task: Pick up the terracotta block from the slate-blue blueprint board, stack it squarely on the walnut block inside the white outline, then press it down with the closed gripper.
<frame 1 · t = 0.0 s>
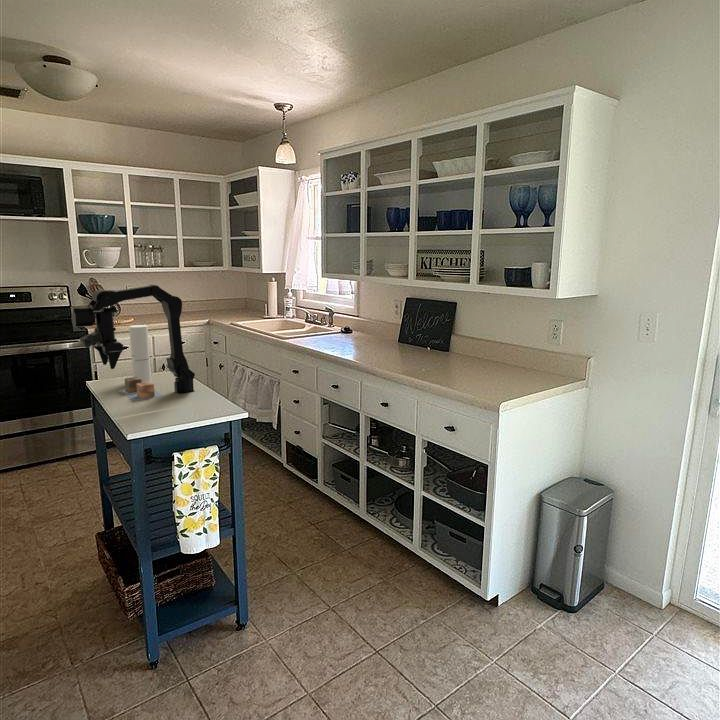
hand: (108, 366, 194), 15 cm above the counter, tool pointing down, fingers open, 9 cm apart
blueprint board: (141, 394, 211), on the counter
terracotta block: (145, 396, 207), point 1 cm above the counter, touching blueprint board
walnut block: (133, 390, 214), point 1 cm above the counter, touching blueprint board
cylindrical container: (142, 383, 229), on the counter
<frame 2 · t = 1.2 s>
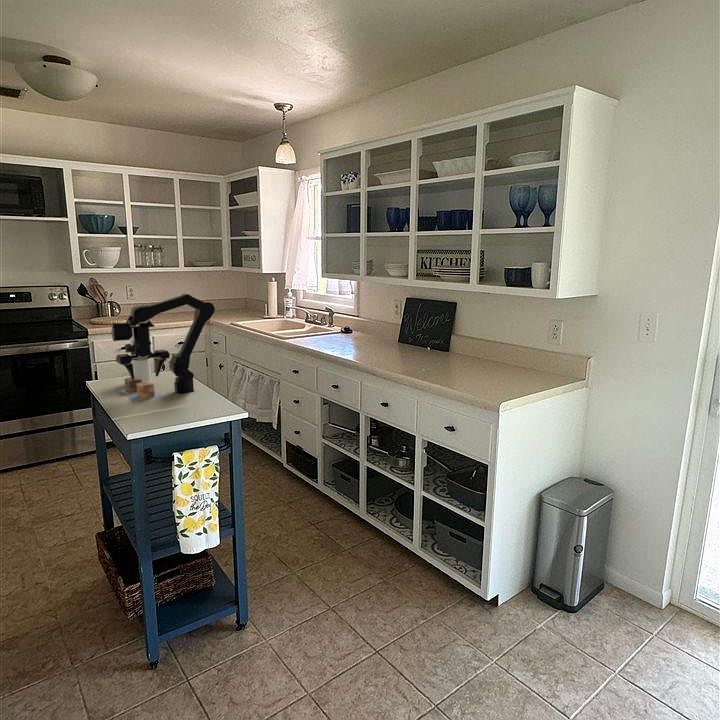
hand: (145, 378, 205), 8 cm above the counter, tool pointing down, fingers open, 9 cm apart
nothing on the counter moved.
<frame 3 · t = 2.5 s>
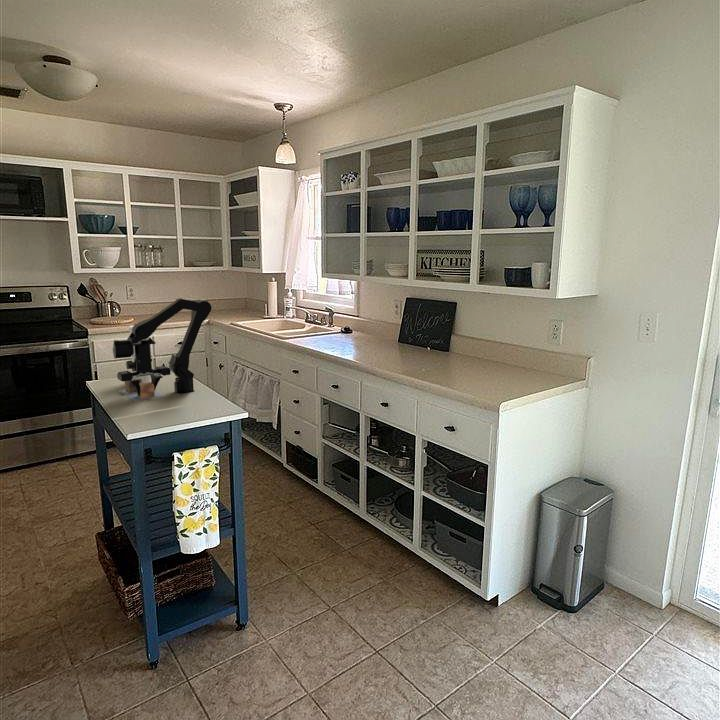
hand: (145, 394, 207), 1 cm above the counter, tool pointing down, fingers closed on terracotta block, 5 cm apart
terracotta block: (145, 396, 207), point 1 cm above the counter, touching blueprint board, gripper
everything else where it was.
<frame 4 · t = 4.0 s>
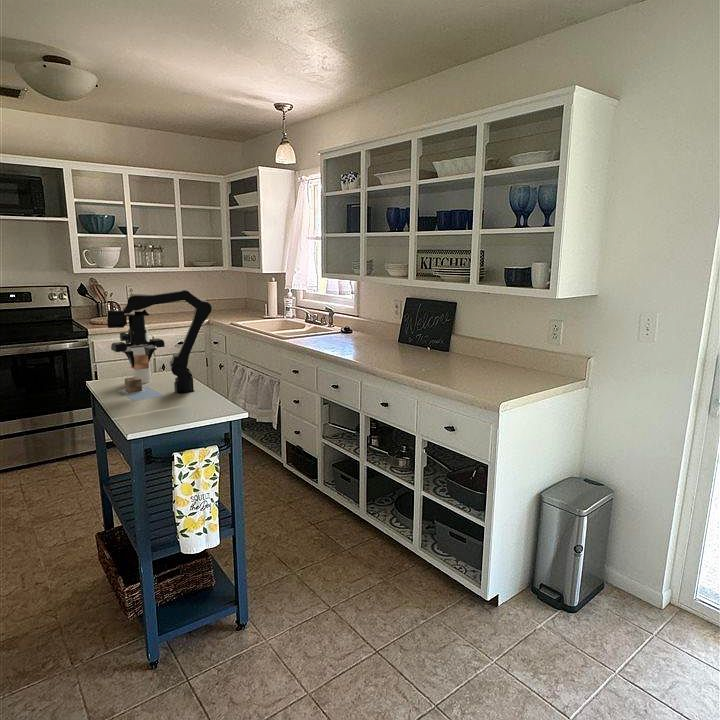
hand: (139, 366, 207), 12 cm above the counter, tool pointing down, fingers closed on terracotta block, 5 cm apart
terracotta block: (140, 368, 207), point 11 cm above the counter, touching gripper
everything else where it was.
when the fingers open (7 cm above the counter, at t = 5.5 s): terracotta block stays where it is, resting on walnut block.
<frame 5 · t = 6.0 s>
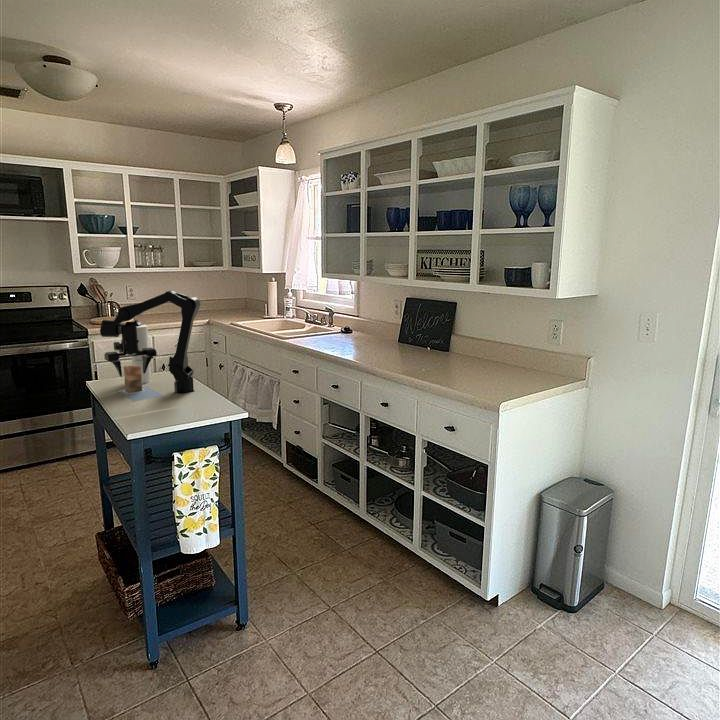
hand: (132, 375, 213), 7 cm above the counter, tool pointing down, fingers open, 9 cm apart
terracotta block: (133, 378, 213), point 6 cm above the counter, touching walnut block
walnut block: (133, 390, 214), point 1 cm above the counter, touching blueprint board, terracotta block
everything else where it was.
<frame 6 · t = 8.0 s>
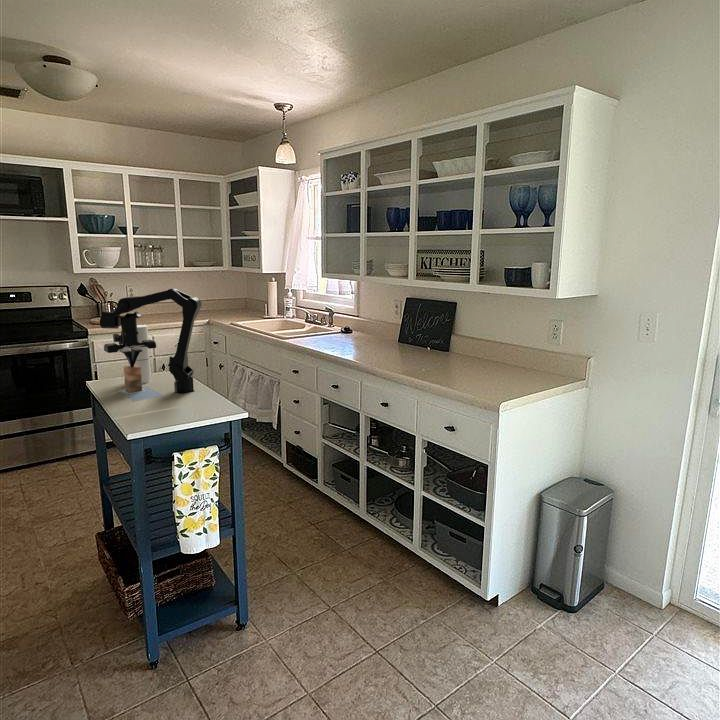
hand: (132, 367, 212), 11 cm above the counter, tool pointing down, fingers closed, pressing on terracotta block
terracotta block: (133, 378, 213), point 6 cm above the counter, touching gripper, walnut block
everything else where it was.
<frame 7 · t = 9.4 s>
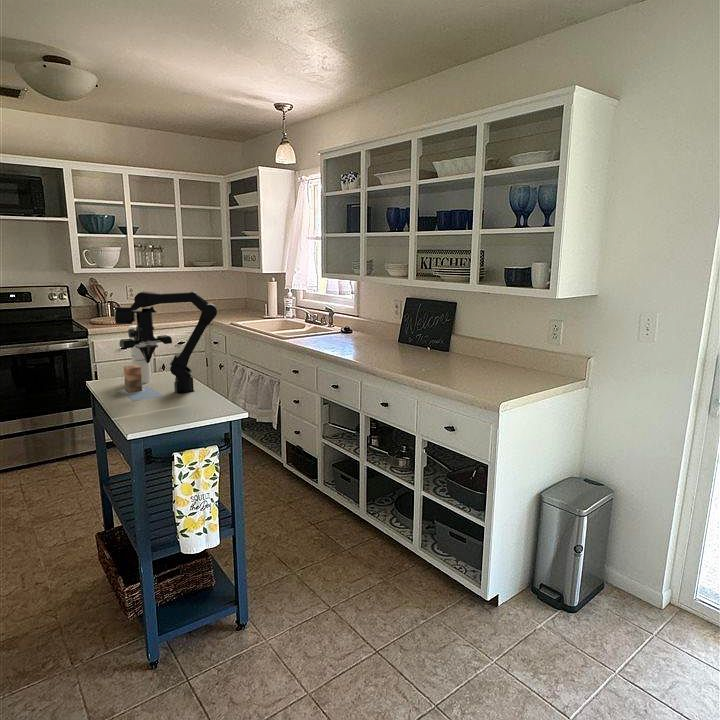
hand: (147, 362, 209), 13 cm above the counter, tool pointing down, fingers closed
terracotta block: (133, 378, 213), point 6 cm above the counter, touching walnut block
everything else where it was.
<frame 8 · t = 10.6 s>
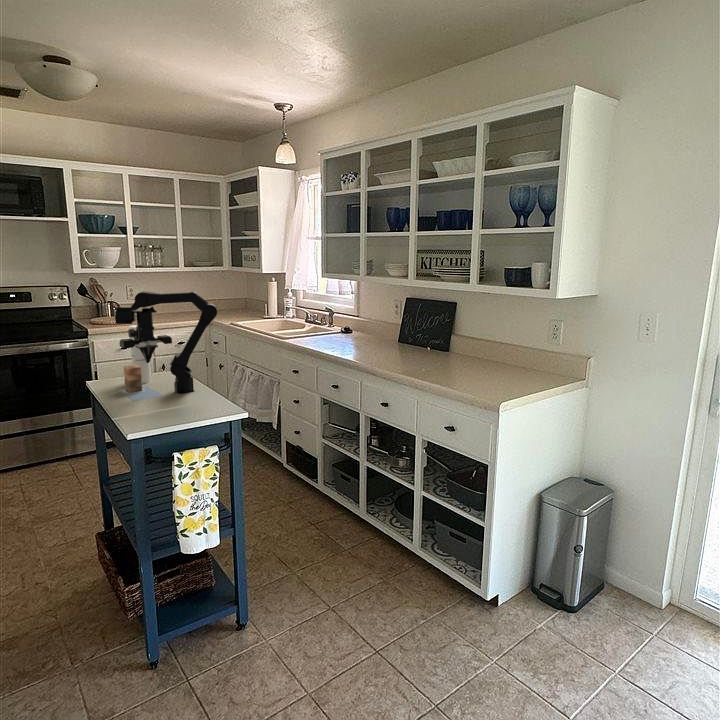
hand: (147, 362, 209), 13 cm above the counter, tool pointing down, fingers closed
nothing on the counter moved.
at the end: terracotta block 0.1 cm off-centre on the walnut block, point 5.0 cm above the walnut block's base; terracotta block tilted 0°; walnut block moved 0.0 cm from its start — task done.
